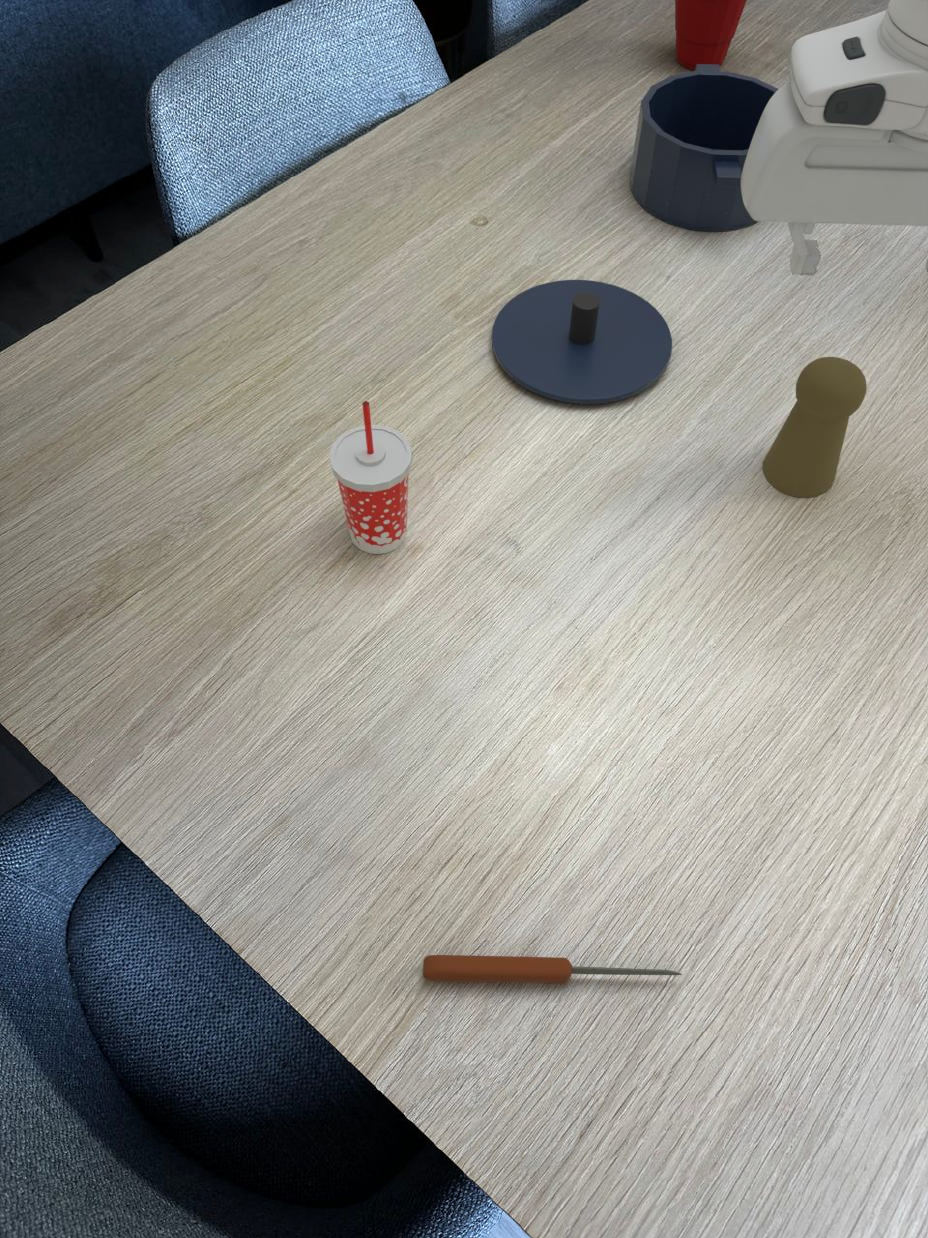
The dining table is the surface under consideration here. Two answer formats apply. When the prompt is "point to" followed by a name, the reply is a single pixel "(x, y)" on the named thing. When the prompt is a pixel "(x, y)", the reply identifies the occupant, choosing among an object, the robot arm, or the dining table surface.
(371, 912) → the dining table surface
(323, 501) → the dining table surface
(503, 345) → the lid
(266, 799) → the dining table surface
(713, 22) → the plastic cup
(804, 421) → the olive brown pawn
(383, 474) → the beverage cup
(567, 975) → the orange-handled awl
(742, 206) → the pot
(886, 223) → the robot arm
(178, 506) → the dining table surface
